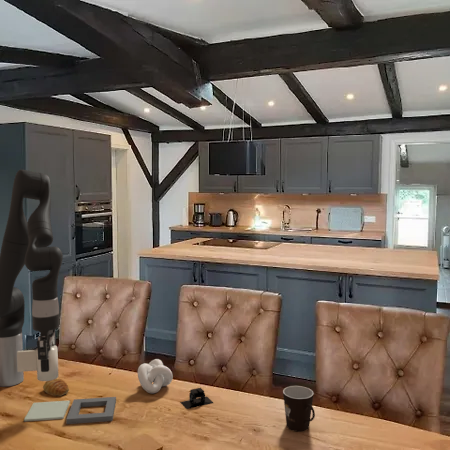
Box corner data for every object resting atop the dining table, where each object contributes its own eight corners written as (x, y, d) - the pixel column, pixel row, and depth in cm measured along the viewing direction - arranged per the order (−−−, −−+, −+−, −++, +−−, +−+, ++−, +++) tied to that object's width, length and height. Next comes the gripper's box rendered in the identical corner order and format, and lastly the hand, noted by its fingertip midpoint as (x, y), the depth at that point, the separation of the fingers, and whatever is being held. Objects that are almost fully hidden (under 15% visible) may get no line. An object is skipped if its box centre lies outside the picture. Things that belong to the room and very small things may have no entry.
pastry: (74, 392, 157) (74, 381, 157) (56, 399, 152) (55, 388, 152) (58, 385, 163) (58, 374, 163) (40, 392, 158) (40, 381, 157)
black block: (183, 413, 143) (183, 398, 143) (174, 403, 150) (174, 389, 149) (219, 404, 149) (219, 390, 149) (209, 395, 155) (209, 382, 155)
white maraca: (60, 372, 146) (59, 344, 145) (56, 380, 140) (55, 351, 139) (21, 375, 144) (20, 346, 144) (15, 383, 138) (14, 353, 138)
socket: (66, 424, 135) (66, 419, 135) (74, 404, 148) (73, 399, 148) (112, 420, 137) (112, 415, 137) (116, 401, 150) (115, 396, 150)
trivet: (24, 421, 137) (24, 419, 137) (33, 404, 148) (33, 402, 148) (63, 418, 138) (63, 416, 138) (69, 402, 149) (69, 400, 149)
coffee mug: (281, 418, 139) (281, 385, 138) (310, 419, 138) (311, 386, 138) (285, 439, 127) (285, 403, 126) (317, 439, 127) (317, 404, 126)
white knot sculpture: (155, 399, 151) (154, 372, 151) (127, 391, 157) (127, 365, 157) (176, 387, 161) (176, 361, 160) (150, 380, 167) (149, 355, 166)
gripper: (53, 318, 135) (55, 375, 136) (63, 306, 149) (64, 358, 150) (26, 320, 133) (28, 377, 135) (38, 307, 148) (40, 359, 149)
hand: (47, 367), depth 142 cm, fingers closed on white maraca, 6 cm apart
